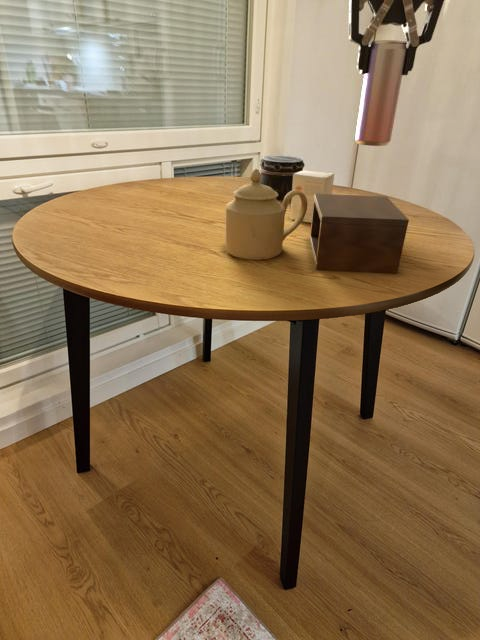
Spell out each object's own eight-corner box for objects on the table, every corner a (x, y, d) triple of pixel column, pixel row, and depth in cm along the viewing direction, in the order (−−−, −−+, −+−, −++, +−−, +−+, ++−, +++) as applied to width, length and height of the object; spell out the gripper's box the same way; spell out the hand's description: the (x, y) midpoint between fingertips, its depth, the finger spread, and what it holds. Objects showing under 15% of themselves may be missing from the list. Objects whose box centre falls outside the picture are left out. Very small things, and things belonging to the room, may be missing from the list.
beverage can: (347, 143, 74) (361, 41, 67) (366, 141, 78) (381, 43, 70) (378, 147, 70) (396, 39, 63) (396, 144, 74) (415, 42, 67)
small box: (329, 219, 101) (335, 173, 96) (321, 225, 97) (326, 177, 92) (298, 214, 105) (302, 169, 99) (289, 219, 100) (292, 173, 95)
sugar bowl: (265, 233, 91) (269, 159, 84) (306, 246, 84) (314, 167, 77) (213, 248, 82) (212, 167, 75) (253, 265, 75) (257, 177, 68)
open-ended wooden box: (378, 242, 87) (386, 196, 82) (397, 273, 73) (409, 219, 68) (309, 239, 88) (314, 193, 83) (315, 269, 74) (322, 216, 69)
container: (304, 191, 126) (307, 156, 121) (298, 201, 115) (302, 163, 110) (262, 188, 129) (264, 153, 124) (253, 198, 118) (254, 160, 113)
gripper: (359, -70, 58) (341, 73, 66) (467, -69, 57) (435, 75, 65) (351, -54, 64) (336, 73, 73) (448, -53, 63) (421, 76, 72)
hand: (383, 74), depth 69 cm, fingers closed on beverage can, 6 cm apart
